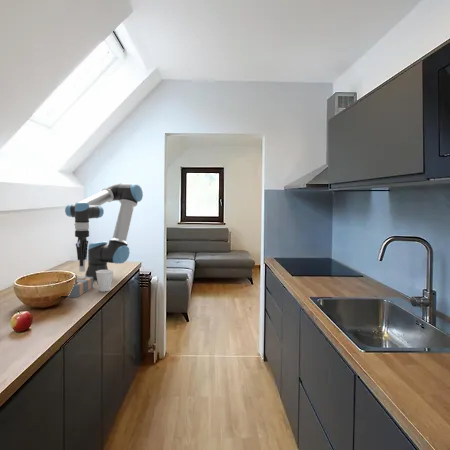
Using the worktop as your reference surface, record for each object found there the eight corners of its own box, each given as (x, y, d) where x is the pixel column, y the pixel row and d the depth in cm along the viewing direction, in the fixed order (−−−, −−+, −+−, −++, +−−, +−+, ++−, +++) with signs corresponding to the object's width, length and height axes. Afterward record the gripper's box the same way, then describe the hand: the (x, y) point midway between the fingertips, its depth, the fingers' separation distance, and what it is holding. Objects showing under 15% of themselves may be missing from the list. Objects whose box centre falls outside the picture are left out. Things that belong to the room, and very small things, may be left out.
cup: (99, 293, 220) (99, 273, 220) (92, 289, 228) (92, 270, 227) (116, 291, 227) (116, 271, 226) (109, 287, 234) (109, 269, 234)
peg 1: (70, 285, 219) (71, 274, 218) (78, 285, 218) (78, 274, 218) (67, 287, 215) (67, 276, 214) (75, 287, 214) (75, 276, 214)
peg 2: (79, 287, 231) (79, 277, 230) (86, 288, 231) (86, 277, 230) (76, 289, 227) (76, 278, 226) (83, 289, 227) (83, 279, 226)
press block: (77, 286, 235) (77, 276, 234) (93, 287, 235) (93, 277, 234) (59, 296, 211) (59, 285, 210) (76, 297, 211) (77, 285, 210)
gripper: (79, 228, 233) (80, 268, 235) (70, 230, 220) (71, 273, 222) (92, 228, 233) (92, 269, 235) (84, 231, 220) (84, 273, 222)
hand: (82, 271), depth 229 cm, fingers closed
